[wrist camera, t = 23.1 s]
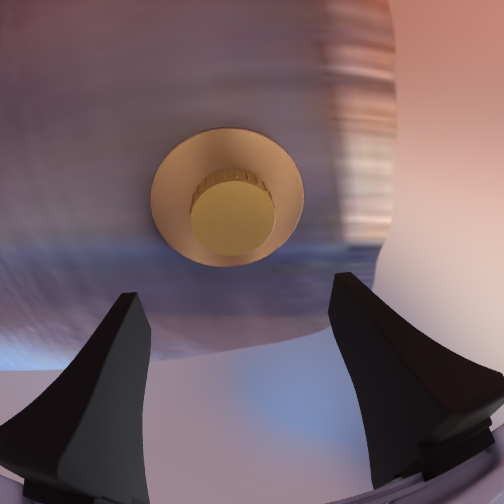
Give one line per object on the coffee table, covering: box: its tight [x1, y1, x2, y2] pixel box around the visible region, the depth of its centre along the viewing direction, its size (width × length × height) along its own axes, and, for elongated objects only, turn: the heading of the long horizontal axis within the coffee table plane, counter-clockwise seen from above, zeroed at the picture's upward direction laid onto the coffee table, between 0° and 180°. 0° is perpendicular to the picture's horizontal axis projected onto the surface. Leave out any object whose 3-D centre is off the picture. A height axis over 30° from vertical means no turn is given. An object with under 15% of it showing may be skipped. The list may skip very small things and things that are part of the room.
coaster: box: [150, 127, 304, 267], centre depth 18 cm, size 9×9×1 cm
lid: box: [189, 168, 276, 256], centre depth 17 cm, size 5×5×2 cm
